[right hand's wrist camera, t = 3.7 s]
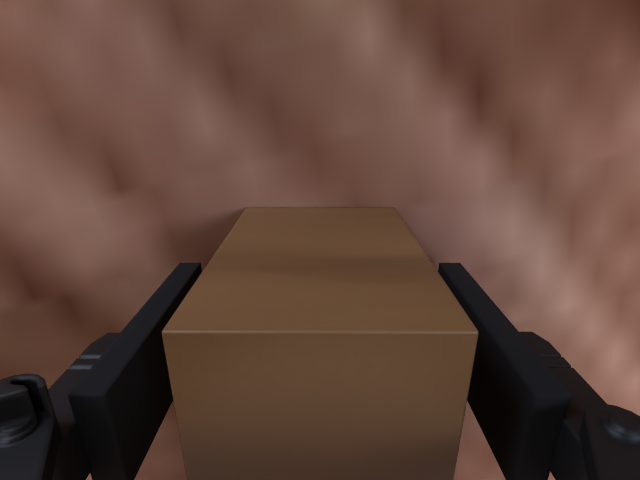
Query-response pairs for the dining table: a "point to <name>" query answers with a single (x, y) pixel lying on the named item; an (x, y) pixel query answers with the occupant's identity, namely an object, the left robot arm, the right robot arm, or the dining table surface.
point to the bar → (320, 353)
